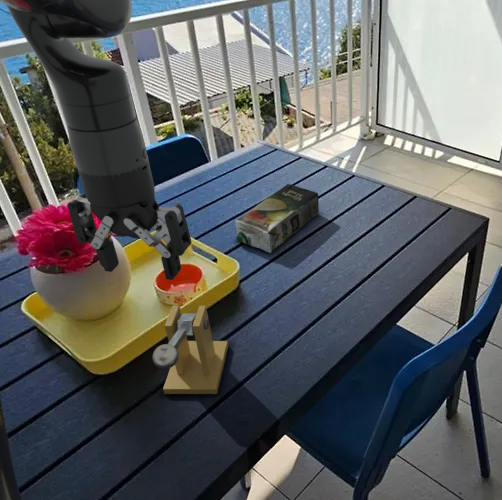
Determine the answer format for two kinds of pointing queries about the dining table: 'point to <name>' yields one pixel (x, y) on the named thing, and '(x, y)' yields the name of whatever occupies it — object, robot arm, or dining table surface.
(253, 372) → the dining table surface
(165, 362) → the tap lever
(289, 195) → the juice carton
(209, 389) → the bracket
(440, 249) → the dining table surface
